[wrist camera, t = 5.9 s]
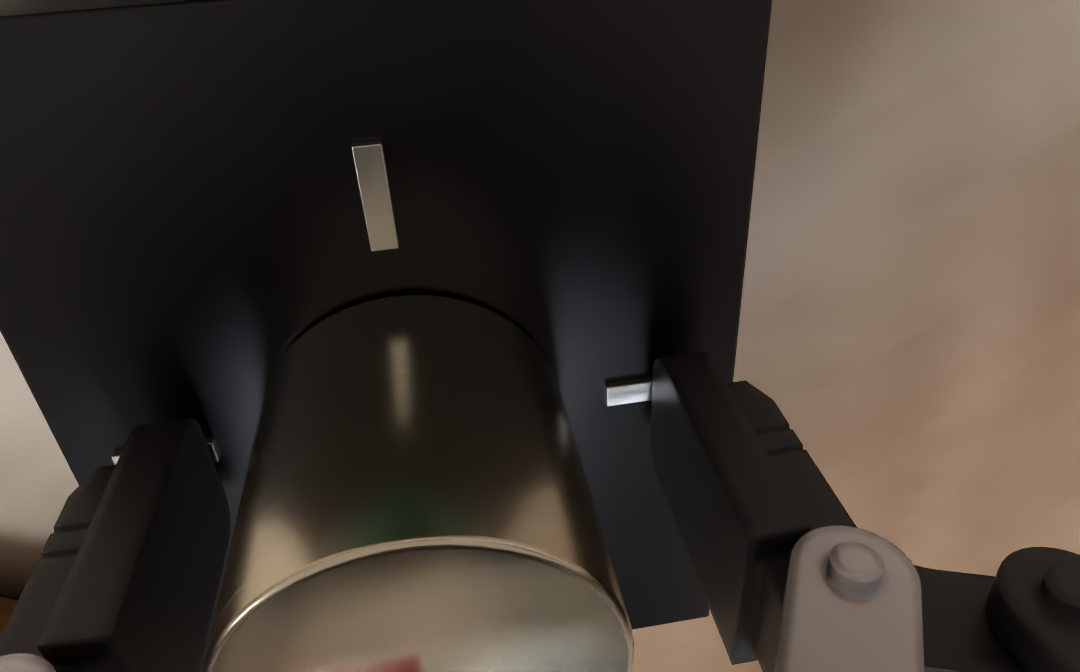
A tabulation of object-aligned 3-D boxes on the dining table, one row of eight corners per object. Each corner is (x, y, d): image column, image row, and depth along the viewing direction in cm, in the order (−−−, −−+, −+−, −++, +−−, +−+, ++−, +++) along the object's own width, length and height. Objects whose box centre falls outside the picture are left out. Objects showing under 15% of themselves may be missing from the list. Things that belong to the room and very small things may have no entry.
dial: (546, 267, 11) (638, 526, 7) (570, 498, 13) (648, 787, 9) (220, 321, 10) (115, 626, 6) (306, 547, 13) (269, 869, 9)
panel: (665, 508, 18) (712, 624, 16) (219, 579, 17) (188, 714, 15) (695, -75, 12) (784, -45, 9) (-28, -19, 11) (-164, 33, 8)
